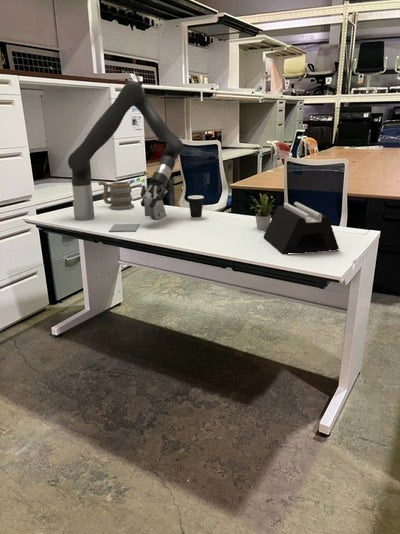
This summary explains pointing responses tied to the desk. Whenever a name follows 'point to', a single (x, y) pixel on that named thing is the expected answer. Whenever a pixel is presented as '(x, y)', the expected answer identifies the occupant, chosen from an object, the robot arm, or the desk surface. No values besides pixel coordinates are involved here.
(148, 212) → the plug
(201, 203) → the dixie cup
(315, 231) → the device stand
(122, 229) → the mat
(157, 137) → the robot arm
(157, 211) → the electrical switch
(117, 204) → the tankard
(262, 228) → the house plant
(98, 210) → the desk surface
